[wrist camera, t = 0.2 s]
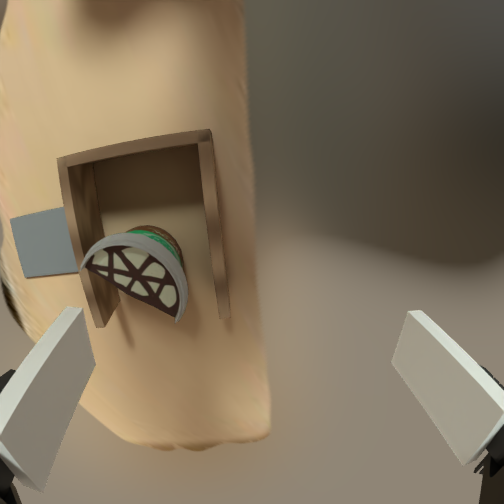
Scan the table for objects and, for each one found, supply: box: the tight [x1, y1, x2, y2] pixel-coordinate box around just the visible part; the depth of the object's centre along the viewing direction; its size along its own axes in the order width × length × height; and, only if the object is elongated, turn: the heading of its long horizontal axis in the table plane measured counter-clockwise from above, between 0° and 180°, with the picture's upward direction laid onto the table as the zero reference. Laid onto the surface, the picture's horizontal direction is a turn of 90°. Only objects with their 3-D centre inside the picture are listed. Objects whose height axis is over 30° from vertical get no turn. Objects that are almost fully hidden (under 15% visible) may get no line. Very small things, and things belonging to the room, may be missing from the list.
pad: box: [10, 207, 79, 277], centre depth 35 cm, size 9×14×1 cm, turn 95°
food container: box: [80, 225, 188, 324], centre depth 33 cm, size 12×6×10 cm, turn 58°
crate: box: [57, 129, 231, 328], centre depth 33 cm, size 20×16×7 cm
